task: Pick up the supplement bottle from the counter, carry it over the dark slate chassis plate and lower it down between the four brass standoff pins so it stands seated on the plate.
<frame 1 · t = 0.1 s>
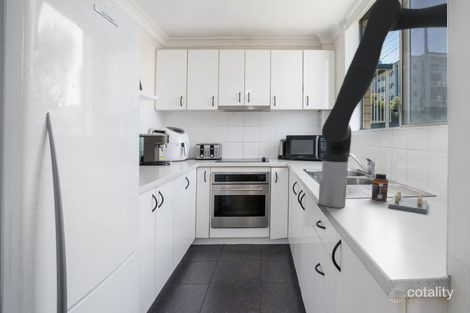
chassis plate: (408, 205, 109), on the counter
supplement bottle: (379, 200, 118), on the counter
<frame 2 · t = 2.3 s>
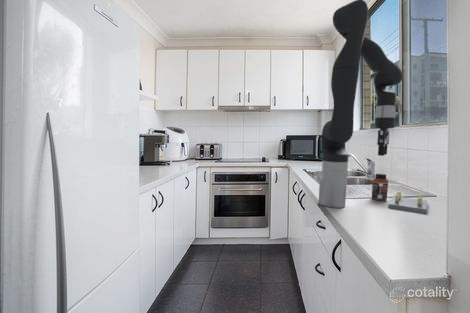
hand: (382, 155, 117), 19 cm above the counter, tool pointing down, fingers open, 8 cm apart
nothing on the counter moved.
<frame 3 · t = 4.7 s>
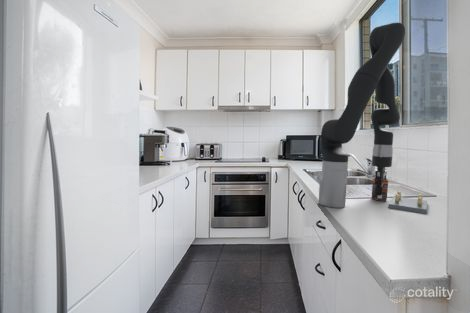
hand: (379, 193, 118), 3 cm above the counter, tool pointing down, fingers closed on supplement bottle, 6 cm apart
supplement bottle: (379, 200, 118), on the counter, touching gripper
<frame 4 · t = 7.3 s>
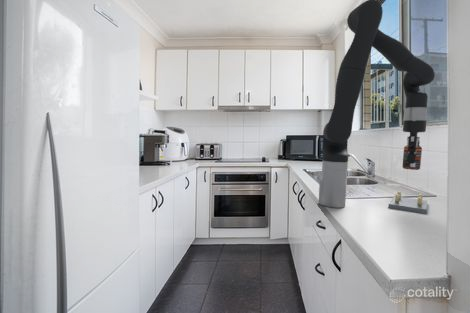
hand: (411, 162, 107), 17 cm above the counter, tool pointing down, fingers closed on supplement bottle, 6 cm apart
supplement bottle: (411, 169, 108), point 15 cm above the counter, touching gripper
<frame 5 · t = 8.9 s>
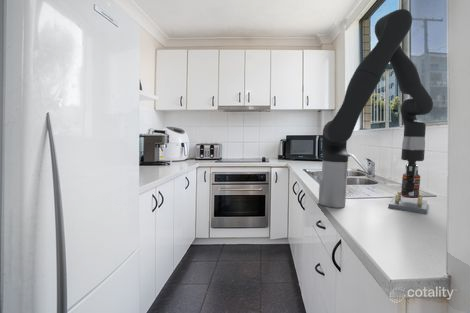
hand: (410, 190, 108), 6 cm above the counter, tool pointing down, fingers closed on supplement bottle, 6 cm apart
supplement bottle: (409, 197, 108), point 3 cm above the counter, touching gripper
when the fingers open (5 cm above the counter, at t = 10.0 s): supplement bottle stays where it is, resting on chassis plate.
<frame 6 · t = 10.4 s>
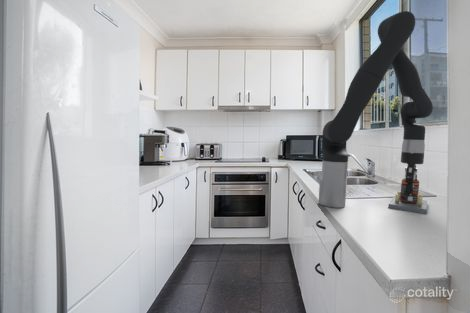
hand: (409, 192, 108), 6 cm above the counter, tool pointing down, fingers open, 8 cm apart
supplement bottle: (408, 202, 109), point 1 cm above the counter, touching chassis plate
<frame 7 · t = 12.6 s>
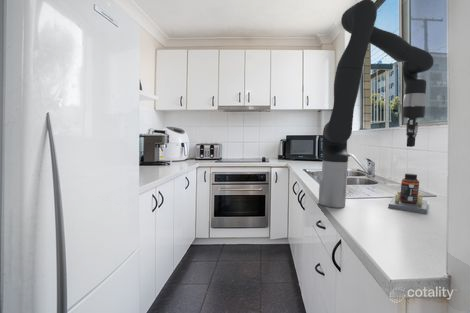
hand: (410, 146, 110), 24 cm above the counter, tool pointing down, fingers open, 8 cm apart
nothing on the counter moved.
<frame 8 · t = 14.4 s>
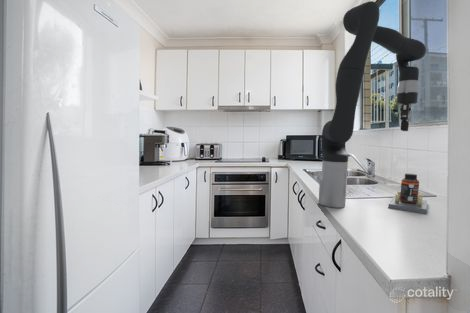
hand: (404, 130, 117), 30 cm above the counter, tool pointing down, fingers open, 8 cm apart
nothing on the counter moved.
at the end: supplement bottle 0.1 cm off-centre on the chassis plate, point 1.3 cm above the chassis plate's base; supplement bottle tilted 0°; the gripper is holding nothing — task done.
